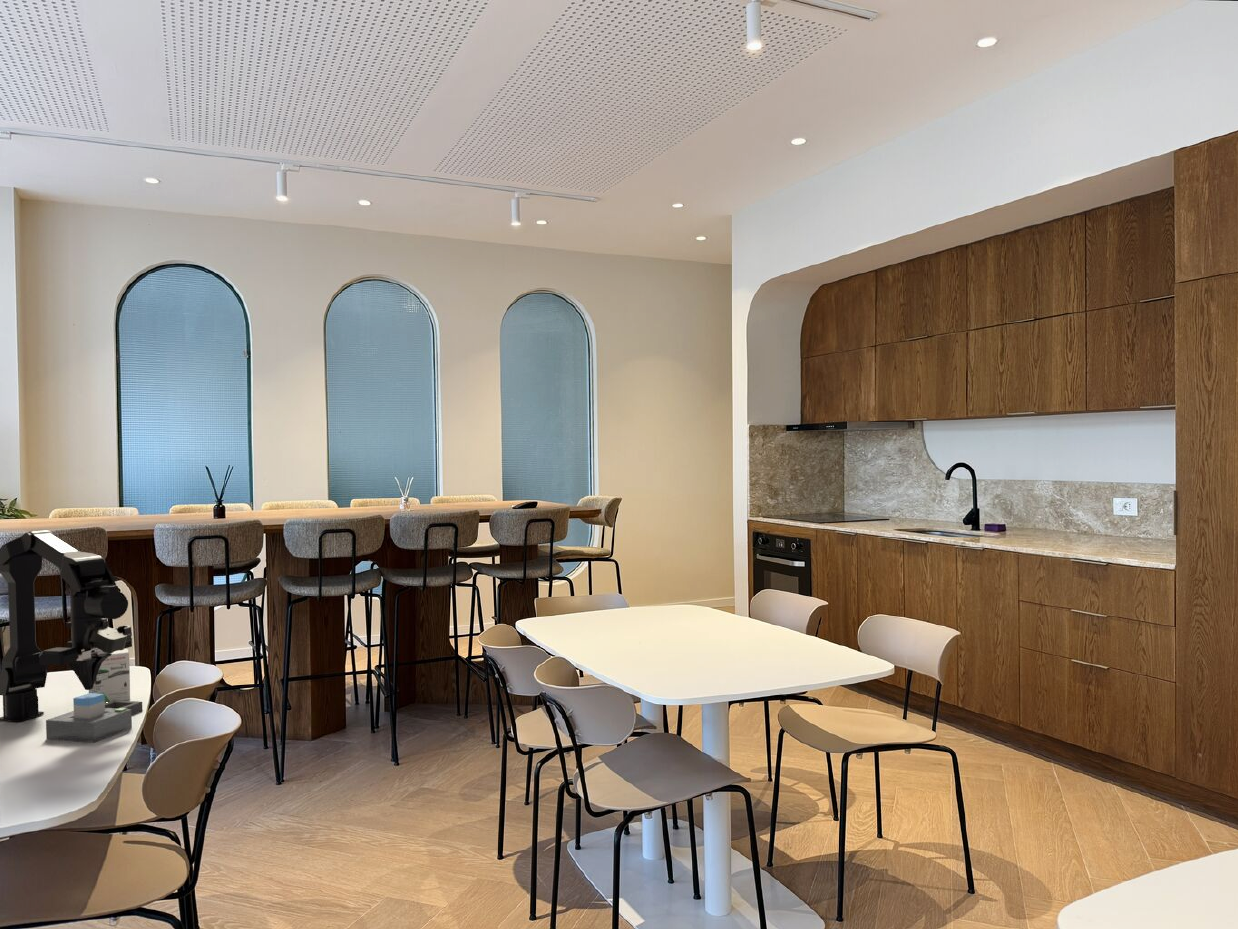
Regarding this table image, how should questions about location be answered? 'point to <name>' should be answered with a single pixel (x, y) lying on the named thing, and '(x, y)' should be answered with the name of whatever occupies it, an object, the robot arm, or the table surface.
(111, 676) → the ink box
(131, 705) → the gray square frame
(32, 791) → the table surface
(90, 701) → the plug
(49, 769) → the table surface
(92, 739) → the port
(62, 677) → the table surface
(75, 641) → the robot arm
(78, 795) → the table surface
